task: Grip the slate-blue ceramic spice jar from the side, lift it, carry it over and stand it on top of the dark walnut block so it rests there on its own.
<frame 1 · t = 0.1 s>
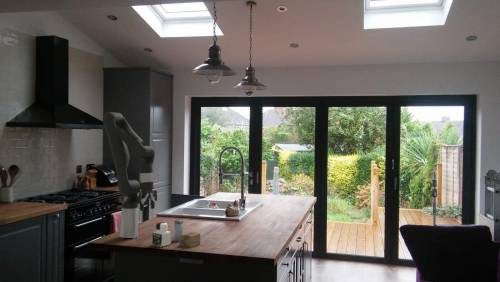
hand: (147, 209, 239), 17 cm above the counter, tool pointing down, fingers open, 8 cm apart
walnut block: (189, 245, 230), on the counter
medicine bottle: (161, 245, 229), on the counter
spice jar: (178, 240, 240), on the counter
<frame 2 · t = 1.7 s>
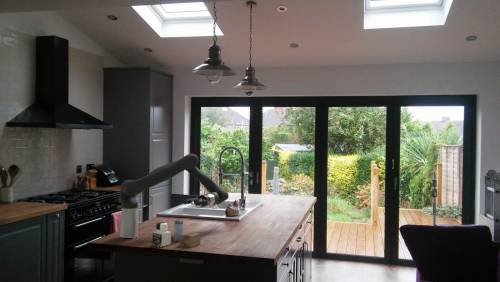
hand: (190, 203, 249), 20 cm above the counter, tool horizontal, fingers open, 8 cm apart
nothing on the counter moved.
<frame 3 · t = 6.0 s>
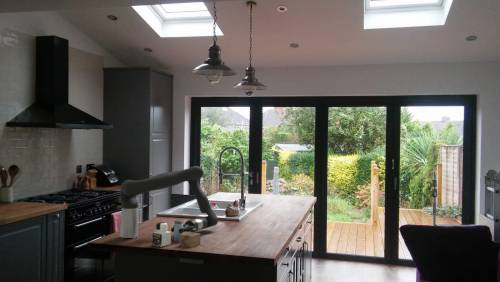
hand: (175, 230, 238), 6 cm above the counter, tool horizontal, fingers closed on spice jar, 5 cm apart
spice jar: (178, 240, 240), on the counter, touching gripper
everything else where it was.
when the fingers open (13 cm above the counter, at t = 11.4 s): spice jar drops 1 cm, resting on walnut block.
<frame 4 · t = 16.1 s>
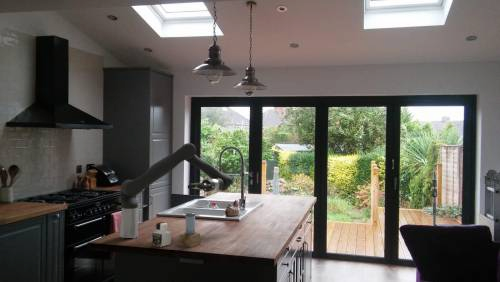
hand: (194, 187, 243), 30 cm above the counter, tool horizontal, fingers open, 8 cm apart
spice jar: (190, 233, 230), point 6 cm above the counter, touching walnut block
everything else where it was.
at the end: spice jar inside the target area on the walnut block (0.1 cm from its centre), point 6.0 cm above the walnut block's base; spice jar tilted 0°; the gripper is holding nothing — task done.
